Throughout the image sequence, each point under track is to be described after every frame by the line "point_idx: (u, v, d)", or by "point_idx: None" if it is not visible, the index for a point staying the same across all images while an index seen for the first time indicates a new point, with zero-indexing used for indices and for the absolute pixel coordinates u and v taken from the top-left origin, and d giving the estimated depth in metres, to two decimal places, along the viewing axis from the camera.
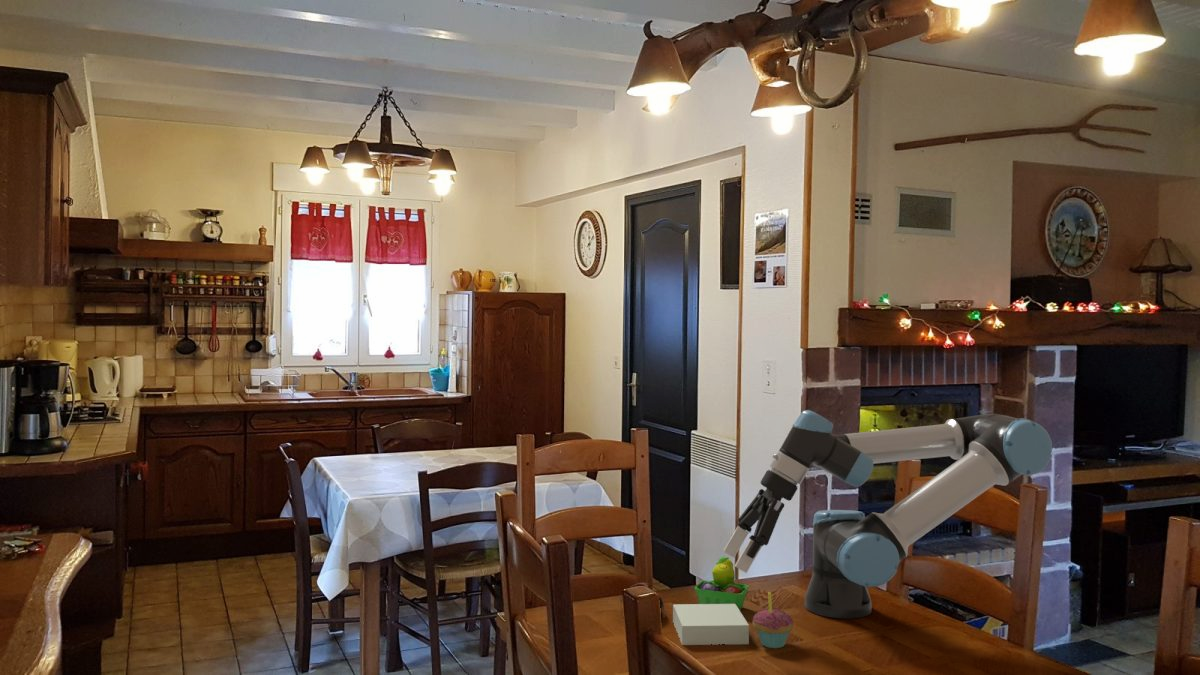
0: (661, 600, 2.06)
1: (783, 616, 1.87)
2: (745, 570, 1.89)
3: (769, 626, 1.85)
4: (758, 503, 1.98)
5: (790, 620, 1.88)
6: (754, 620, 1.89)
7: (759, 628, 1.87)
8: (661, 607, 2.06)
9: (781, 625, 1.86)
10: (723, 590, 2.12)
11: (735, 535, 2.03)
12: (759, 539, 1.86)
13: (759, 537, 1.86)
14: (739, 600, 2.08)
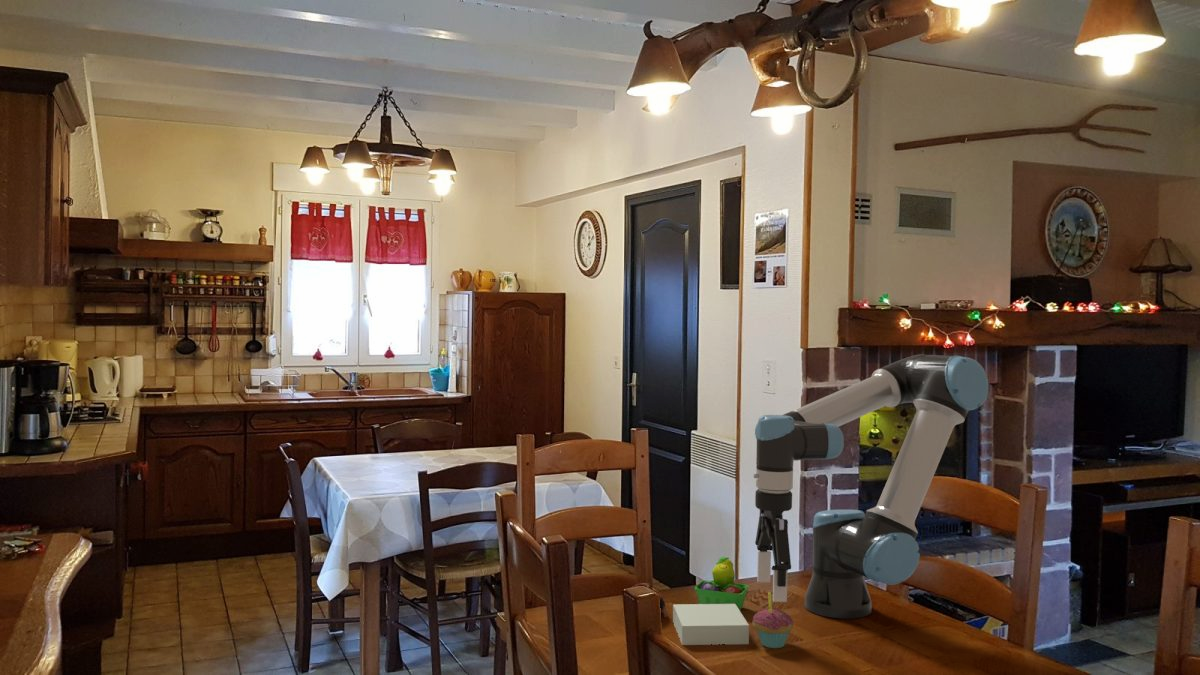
0: (663, 600, 2.06)
1: (783, 616, 1.87)
2: (784, 599, 1.82)
3: (769, 626, 1.85)
4: (764, 525, 1.90)
5: (790, 620, 1.88)
6: (754, 620, 1.89)
7: (759, 628, 1.87)
8: (663, 607, 2.06)
9: (781, 625, 1.86)
10: (723, 590, 2.12)
11: (760, 561, 1.95)
12: (781, 567, 1.79)
13: (780, 566, 1.79)
14: (739, 600, 2.08)
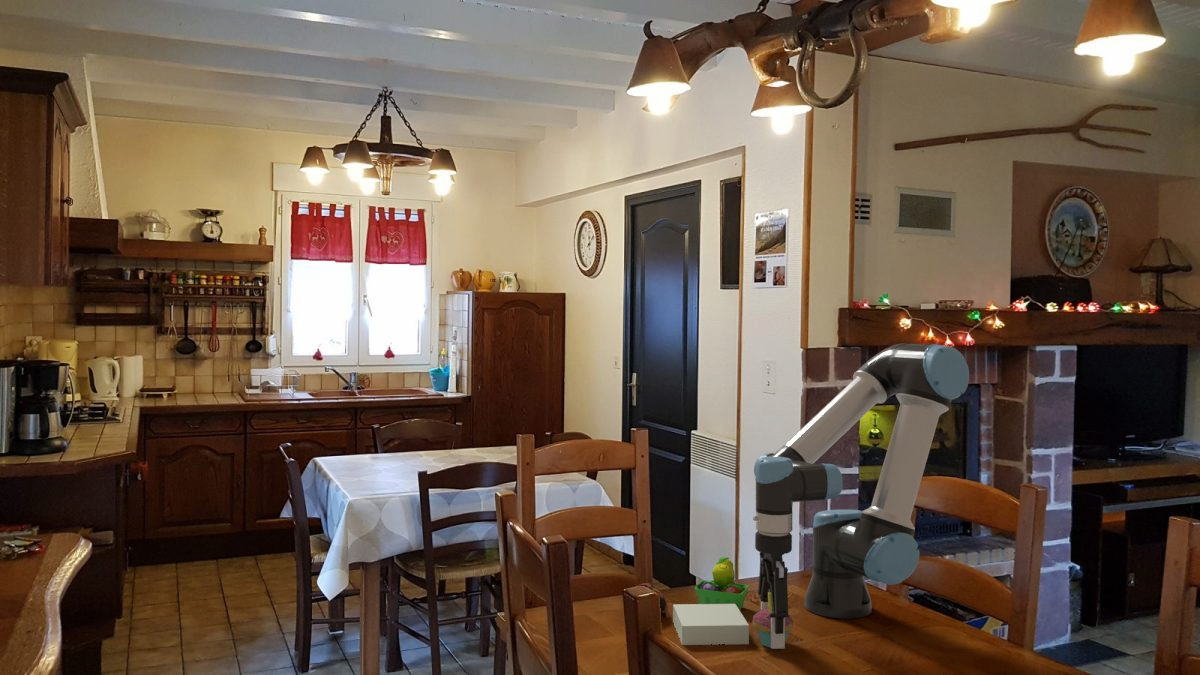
0: (665, 601, 2.06)
1: None
2: (782, 646, 1.85)
3: (769, 626, 1.86)
4: (765, 567, 1.90)
5: (790, 620, 1.88)
6: (754, 620, 1.89)
7: (759, 628, 1.87)
8: (665, 608, 2.05)
9: None
10: (723, 590, 2.12)
11: None
12: (778, 615, 1.82)
13: (777, 614, 1.82)
14: (739, 600, 2.08)
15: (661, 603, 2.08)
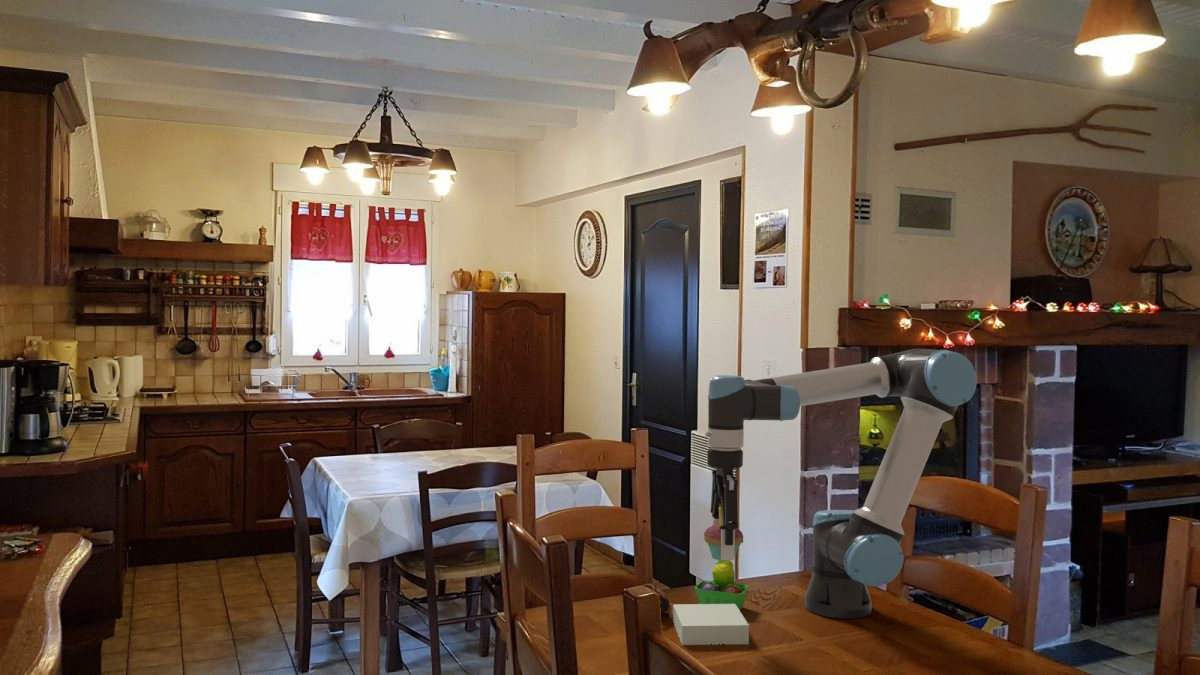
0: (668, 601, 2.06)
1: None
2: (732, 558, 1.89)
3: (719, 538, 1.90)
4: (716, 483, 1.95)
5: (740, 534, 1.92)
6: (705, 534, 1.93)
7: (709, 541, 1.91)
8: (668, 608, 2.05)
9: None
10: (723, 590, 2.12)
11: None
12: (728, 526, 1.86)
13: (727, 525, 1.86)
14: (739, 600, 2.08)
15: (664, 603, 2.08)
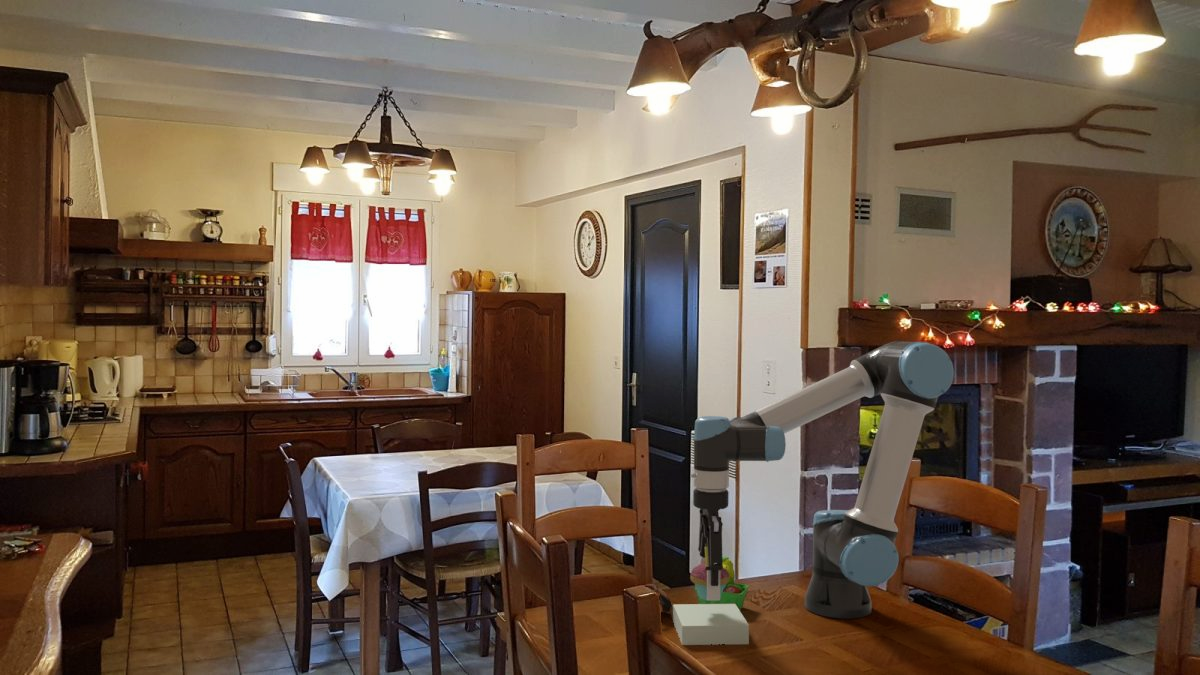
0: (670, 601, 2.05)
1: None
2: (717, 598, 1.91)
3: (705, 579, 1.92)
4: (703, 523, 1.96)
5: (726, 573, 1.94)
6: (691, 573, 1.95)
7: (695, 581, 1.93)
8: (670, 608, 2.05)
9: None
10: (723, 590, 2.12)
11: None
12: (713, 568, 1.88)
13: (712, 566, 1.88)
14: (739, 600, 2.08)
15: (666, 604, 2.08)
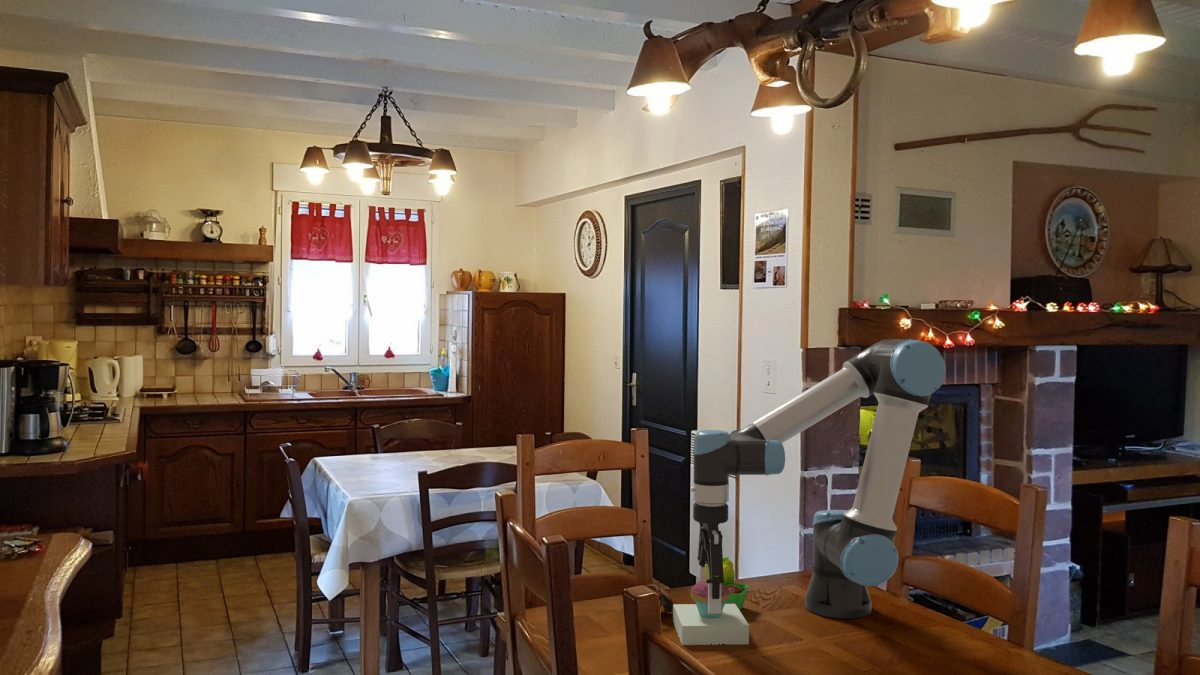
0: (672, 602, 2.05)
1: None
2: (719, 611, 1.90)
3: (705, 596, 1.92)
4: None
5: (726, 591, 1.94)
6: (692, 591, 1.95)
7: (696, 598, 1.93)
8: (672, 609, 2.05)
9: None
10: None
11: (701, 576, 2.01)
12: (714, 581, 1.87)
13: (713, 579, 1.87)
14: (739, 600, 2.08)
15: (668, 604, 2.08)
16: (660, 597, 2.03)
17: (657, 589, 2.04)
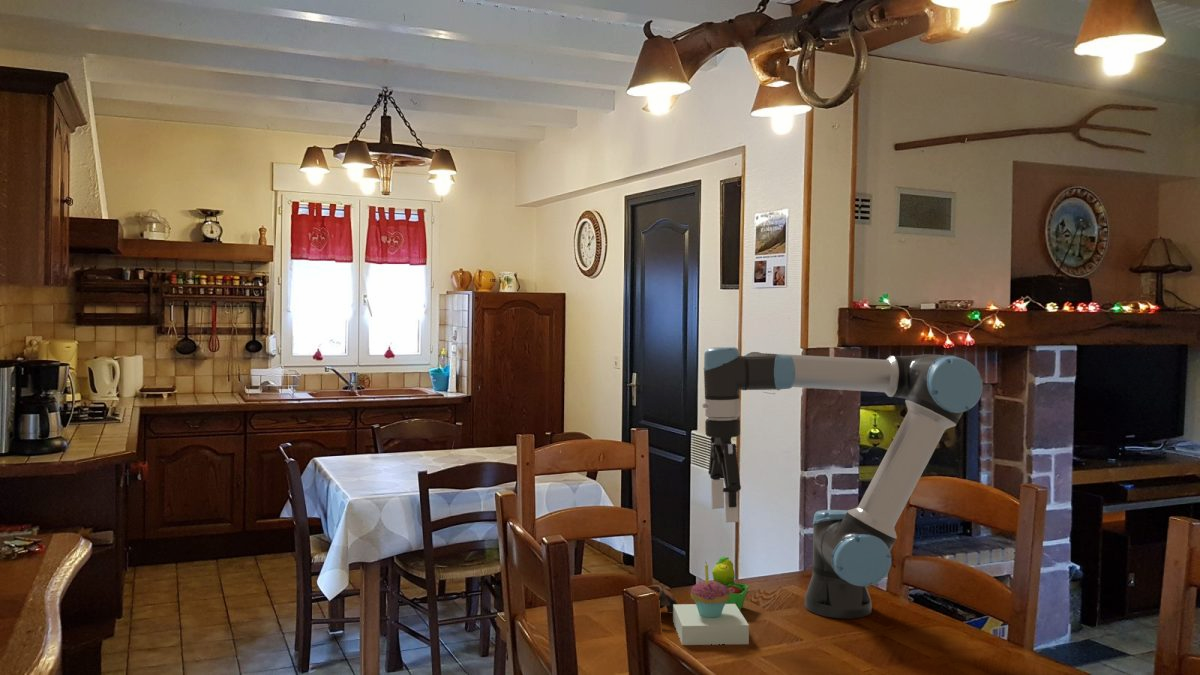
0: (675, 602, 2.05)
1: (719, 587, 1.94)
2: (736, 520, 1.91)
3: (705, 596, 1.92)
4: (715, 452, 2.00)
5: (726, 591, 1.94)
6: (692, 591, 1.95)
7: (696, 598, 1.93)
8: None
9: (717, 596, 1.92)
10: None
11: (713, 489, 2.05)
12: (731, 488, 1.88)
13: (730, 487, 1.88)
14: (739, 600, 2.08)
15: (671, 604, 2.07)
16: (664, 598, 2.02)
17: (661, 590, 2.04)
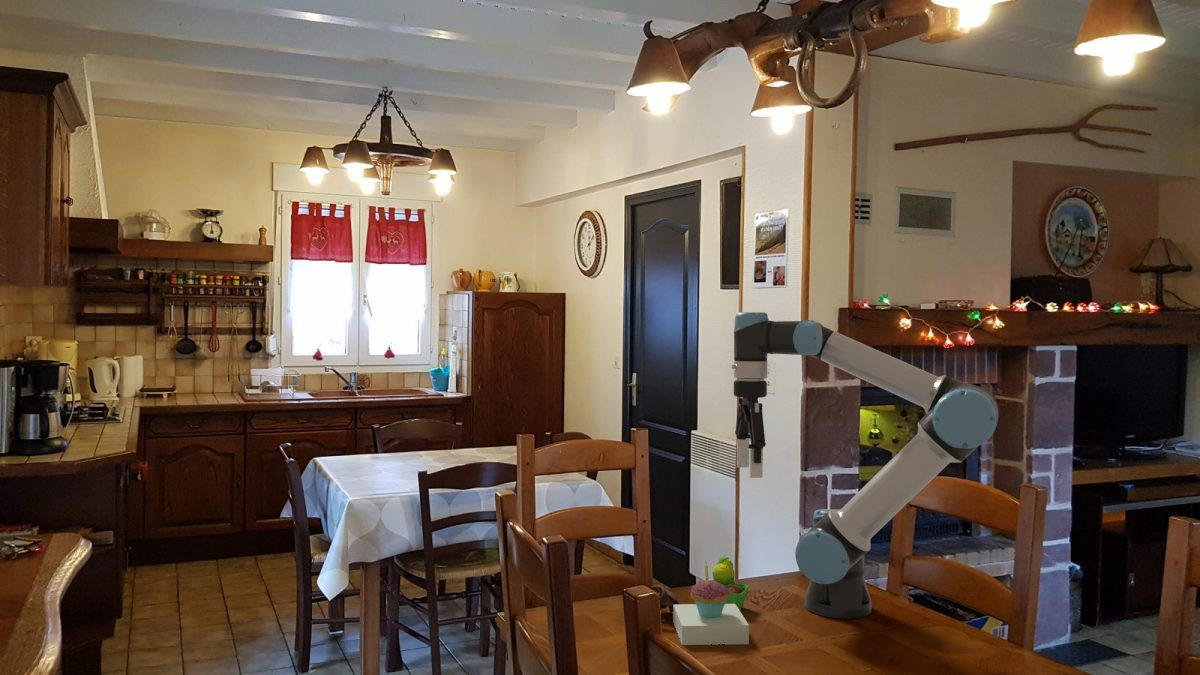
0: None
1: (719, 587, 1.94)
2: (760, 475, 2.00)
3: (705, 596, 1.92)
4: (742, 412, 2.09)
5: (726, 591, 1.94)
6: (692, 591, 1.95)
7: (696, 598, 1.93)
8: None
9: (717, 596, 1.92)
10: None
11: (739, 448, 2.14)
12: (756, 445, 1.97)
13: (755, 443, 1.97)
14: (739, 600, 2.08)
15: None
16: (666, 598, 2.02)
17: (663, 590, 2.03)
